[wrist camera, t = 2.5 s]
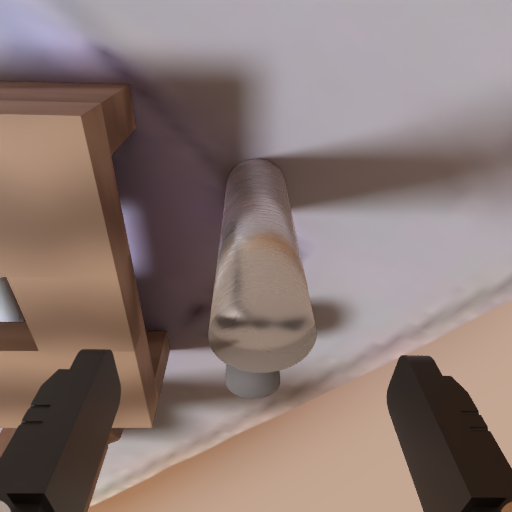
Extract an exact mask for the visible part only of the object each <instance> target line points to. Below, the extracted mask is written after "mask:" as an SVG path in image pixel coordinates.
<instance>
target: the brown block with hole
mask: <svg viewBox="0 0 512 512" xmlns="http://www.w3.org/2000/svg"><path fill="white" fill-rule="evenodd" d="M135 129H136V124H135V117H134V111H133V104H132V97H131V91H130V84H96V83H58V82H21V81H0V277H6V278H7V280H8V282H9V285H10V287H11V289H12V291H13V294H14V296H15V298H16V300H17V303H18V305H19V307H20V309H21V312H22V314H23V316H24V319H25V321H26V322H0V428H18V426H19V425H21V422H22V419H23V417H24V415H25V413H26V412H27V410H28V408H29V409H30V407H31V403H32V401H33V399H34V397H35V396H36V394H37V392H38V390H39V389H40V387H41V385H42V384H43V383H44V382H45V381H46V380H48V379H49V378H50V377H51V376H52V375H53V374H54V373H55V372H56V371H57V370H58V369H70V367H71V365H72V363H73V361H74V359H75V357H76V355H77V354H78V352H79V351H80V350H82V349H110V350H111V351H112V352H113V356H114V360H115V364H116V368H117V371H118V375H119V379H120V384H121V398H120V404H119V407H118V411H117V414H116V417H115V419H114V422H113V425H112V428H152V426H153V422H154V417H155V413H156V409H157V404H158V400H159V395H160V391H161V387H162V382H163V378H164V374H165V369H166V365H167V361H168V356H169V352H170V349H169V342H168V336H167V331H145V326H144V321H143V316H142V310H141V305H140V300H139V295H138V290H137V285H136V280H135V275H134V270H133V265H132V259H131V254H130V249H129V244H128V239H127V234H126V229H125V224H124V219H123V214H122V208H121V203H120V198H119V193H118V188H117V183H116V178H115V173H114V168H113V163H112V157H111V155H112V154H113V153H114V152H115V151H116V150H117V149H118V148H119V147H120V145H121V144H122V143H123V142H124V141H125V140H126V139H127V138H128V137H129V136H130V135H131V134H132V133H133V131H134V130H135Z"/></svg>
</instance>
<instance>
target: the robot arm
mask: <svg viewBox="0 0 512 512" xmlns="http://www.w3.org/2000/svg"><path fill="white" fill-rule="evenodd" d="M120 398H121V384H120V379H119V375H118V371H117V368H116V364H115V360H114V356H113V352H112V351H111V350H110V349H82V350H80V351H79V352H78V354H77V355H76V357H75V359H74V361H73V363H72V365H71V367H70V369H58V370H57V371H56V372H55V373H54V374H53V375H52V376H51V377H50V378H49V379H48V380H46V381H45V382H44V383H43V384H42V385H41V387H40V389H39V390H38V392H37V394H36V396H35V397H34V399H33V401H32V403H31V407H30V409H29V408H28V410H27V412H26V413H25V415H24V417H23V419H22V422H21V425H19V426H18V428H17V429H16V431H15V433H14V435H13V437H12V438H11V440H10V442H9V444H8V445H7V447H6V449H5V451H4V452H3V454H2V456H1V458H0V512H84V509H85V506H86V503H87V500H88V497H89V494H90V491H91V488H92V485H93V482H94V479H95V476H96V473H97V470H98V467H99V464H100V461H101V458H102V455H103V452H104V449H105V446H106V443H107V440H108V437H109V434H110V431H111V428H112V425H113V422H114V419H115V417H116V414H117V411H118V407H119V404H120ZM387 405H388V410H389V413H390V416H391V419H392V422H393V425H394V427H395V431H396V433H397V436H398V439H399V442H400V445H401V448H402V451H403V453H404V456H405V459H406V462H407V465H408V467H409V471H410V473H411V476H412V479H413V482H414V485H415V488H416V491H417V494H418V496H419V499H420V502H421V505H422V507H423V511H424V512H512V468H511V467H510V465H509V463H508V462H507V460H506V458H505V456H504V455H503V453H502V451H501V450H500V448H499V446H498V444H497V442H496V441H495V439H494V437H493V435H492V434H491V432H490V431H488V428H487V425H486V423H485V422H484V420H483V418H482V417H481V415H479V413H478V410H477V408H476V406H475V404H474V403H473V401H472V399H471V398H470V396H469V394H468V392H467V391H466V390H465V389H464V388H463V387H462V386H461V385H460V384H459V383H457V382H456V381H455V380H454V379H453V378H452V377H451V376H442V374H441V372H440V370H439V369H438V367H437V365H436V363H435V361H434V360H433V359H432V358H431V357H430V356H407V355H402V356H401V357H400V358H399V360H398V362H397V365H396V368H395V370H394V374H393V376H392V379H391V381H390V384H389V387H388V390H387Z"/></svg>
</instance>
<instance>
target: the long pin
mask: <svg viewBox="0 0 512 512" xmlns="http://www.w3.org/2000/svg"><path fill="white" fill-rule="evenodd" d="M208 339H209V344H210V346H211V348H212V350H213V352H214V353H215V354H216V356H217V357H218V358H219V359H220V360H222V361H223V362H224V363H226V364H228V365H229V366H232V367H234V368H236V369H239V370H243V371H247V372H254V373H267V372H275V371H279V370H283V369H286V368H288V367H291V366H293V365H295V364H297V363H298V362H300V361H301V360H302V359H303V358H305V357H306V356H307V355H308V354H309V352H310V351H311V349H312V348H313V346H314V344H315V340H316V326H315V321H314V316H313V311H312V307H311V302H310V297H309V293H308V288H307V283H306V278H305V274H304V269H303V264H302V259H301V255H300V250H299V245H298V240H297V236H296V231H295V226H294V221H293V217H292V212H291V207H290V202H289V198H288V193H287V188H286V184H285V179H284V176H283V174H282V172H281V171H280V170H279V168H278V167H277V166H276V165H274V164H273V163H271V162H269V161H266V160H263V159H249V160H246V161H243V162H241V163H240V164H238V165H237V166H236V167H235V168H234V169H233V170H232V171H231V173H230V175H229V177H228V180H227V186H226V194H225V202H224V210H223V218H222V226H221V234H220V242H219V250H218V259H217V267H216V275H215V283H214V291H213V299H212V307H211V315H210V323H209V331H208Z"/></svg>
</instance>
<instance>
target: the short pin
mask: <svg viewBox="0 0 512 512" xmlns="http://www.w3.org/2000/svg"><path fill="white" fill-rule="evenodd" d="M225 383H226V386H227V388H228V389H229V391H231V392H232V393H233V394H235V395H237V396H239V397H243V398H251V399H254V398H262V397H265V396H268V395H270V394H272V393H273V392H274V391H276V389H277V388H278V387H279V384H280V373H279V371H275V372H267V373H254V372H247V371H243V370H239V369H236V368H234V367H232V366H229V365H228V364H226V378H225Z"/></svg>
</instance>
